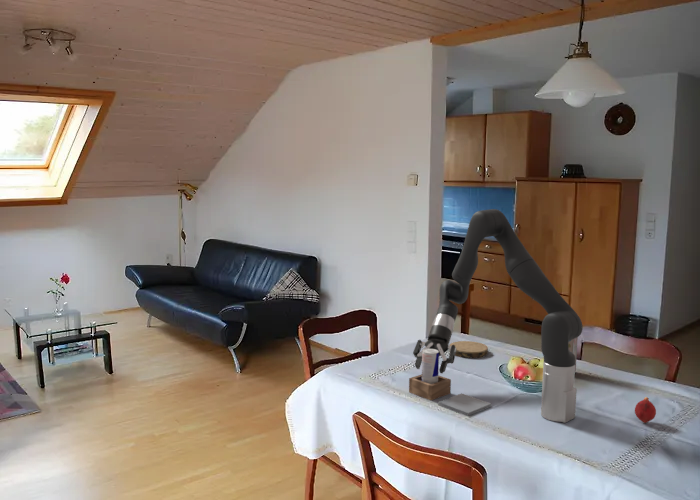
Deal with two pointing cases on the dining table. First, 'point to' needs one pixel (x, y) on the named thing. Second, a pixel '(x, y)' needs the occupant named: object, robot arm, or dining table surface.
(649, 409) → the onion
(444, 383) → the walnut holder
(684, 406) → the dining table surface
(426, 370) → the beverage can
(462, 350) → the round wood slice
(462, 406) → the slate coaster
